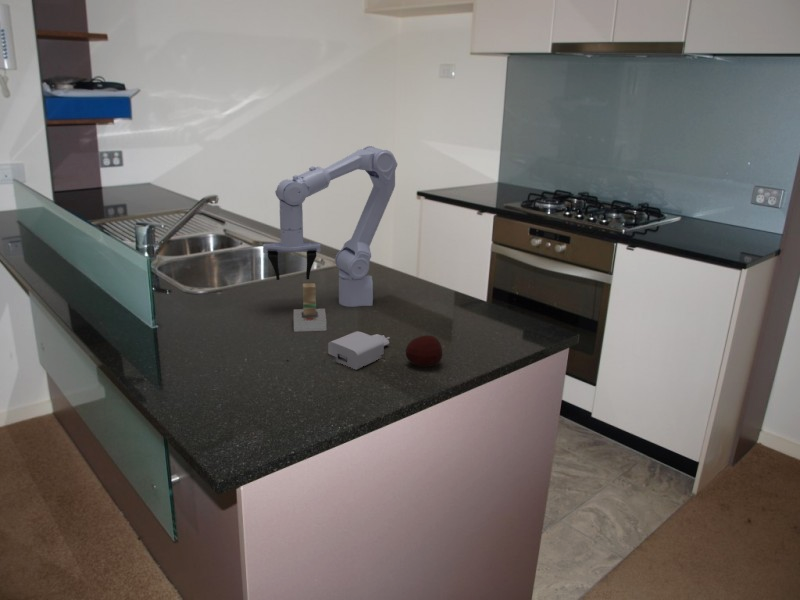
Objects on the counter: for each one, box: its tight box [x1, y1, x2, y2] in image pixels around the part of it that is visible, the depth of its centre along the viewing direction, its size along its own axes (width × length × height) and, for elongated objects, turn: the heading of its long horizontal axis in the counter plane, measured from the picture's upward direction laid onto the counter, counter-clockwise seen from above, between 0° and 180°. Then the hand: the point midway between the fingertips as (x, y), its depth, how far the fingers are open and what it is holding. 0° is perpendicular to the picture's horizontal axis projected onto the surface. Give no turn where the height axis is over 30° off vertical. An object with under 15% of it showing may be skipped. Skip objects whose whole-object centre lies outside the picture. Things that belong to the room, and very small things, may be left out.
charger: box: [327, 331, 391, 371], centre depth 148 cm, size 5×9×15 cm
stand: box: [293, 308, 327, 333], centre depth 162 cm, size 12×12×4 cm
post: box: [302, 282, 317, 315], centre depth 159 cm, size 3×3×7 cm
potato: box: [405, 334, 443, 368], centre depth 144 cm, size 7×8×7 cm
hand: (292, 278), depth 167 cm, fingers open, 7 cm apart
